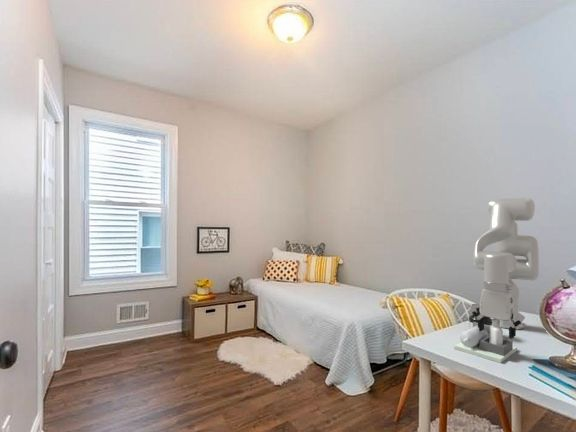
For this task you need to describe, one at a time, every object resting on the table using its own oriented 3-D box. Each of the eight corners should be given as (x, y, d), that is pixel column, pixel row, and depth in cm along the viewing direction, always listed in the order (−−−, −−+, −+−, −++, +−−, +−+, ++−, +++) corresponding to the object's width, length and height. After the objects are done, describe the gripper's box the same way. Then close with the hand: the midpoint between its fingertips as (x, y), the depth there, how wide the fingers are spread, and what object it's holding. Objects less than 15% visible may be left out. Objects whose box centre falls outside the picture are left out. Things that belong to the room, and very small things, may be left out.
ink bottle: (464, 332, 137) (464, 304, 137) (473, 328, 142) (473, 302, 142) (488, 339, 129) (488, 309, 129) (497, 335, 134) (497, 306, 134)
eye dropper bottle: (503, 347, 117) (503, 315, 117) (502, 352, 112) (502, 318, 113) (489, 344, 119) (489, 313, 120) (487, 349, 115) (488, 316, 115)
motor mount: (473, 338, 129) (473, 320, 130) (517, 350, 118) (517, 330, 118) (454, 348, 118) (454, 329, 118) (500, 363, 106) (500, 341, 107)
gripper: (527, 290, 111) (527, 338, 111) (474, 282, 125) (474, 325, 124) (521, 292, 107) (521, 343, 106) (466, 284, 120) (466, 329, 120)
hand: (496, 333), depth 115 cm, fingers open, 9 cm apart
